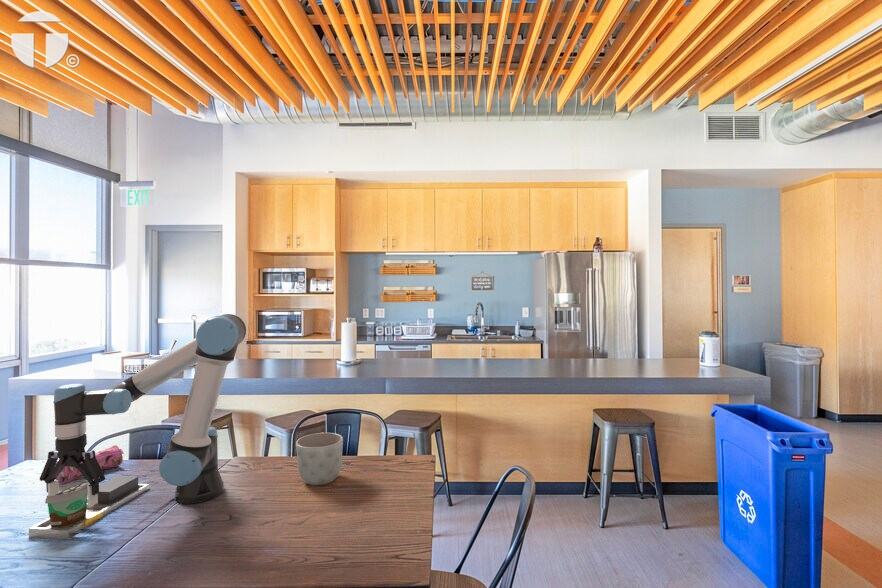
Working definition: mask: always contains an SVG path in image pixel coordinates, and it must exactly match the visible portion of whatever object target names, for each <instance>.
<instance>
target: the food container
mask: <svg viewBox="0 0 882 588" xmlns="http://www.w3.org/2000/svg"><path fill="white" fill-rule="evenodd" d="M88 485H90V484H89V482H88V481H87V480H86V479H82V480H81V483H79V484H76V485H74V486H72V487H71V486H70V487H67V488H65V489H63V490H62V491H60V492H59V493H58V494H56V495H54V496H48V495H46V498H45V501H44V504H47V508H48V515H49V517H48V518H50V523H51V527H62V526H67V525H70V524H74V523H76V522H78V521H80V520H82V519H83V518H84V517H85V516H86V508H87V498H88V491H87V486H88Z"/></svg>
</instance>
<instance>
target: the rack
mask: <svg viewBox="0 0 882 588" xmlns="http://www.w3.org/2000/svg"><path fill="white" fill-rule="evenodd" d="M149 489H150V484H148V483H138V489H137V490H136V491H134V492H132V493H130V494H129V495H127V496H125V497H123V498H122V499H120V500H118V501H116V502H115V503H113V504H95V505H93V506H91V507H88V497H87V508H86V516H85V517H84V518H83V519H82V520H80V521H78V522H76V523H74V524H70V525H67V526H62V527H51V523H50V517H47V518H45V519H44V520H42V521H40V522H38V523H36V524H35V525H33V526H31V527H29V528H28V536H29V538H38V539H39V538H41V539H42V538H43V539H54V540H55V539H57V540H71V539H72V538H73V537H75V536H77V535H79V534H80V532H78V531H80V530H81V529H84V528H86V527H88V526H90V525H91V524H93V523H95V522H96V521H97V522H98V520H100V519H103V516H106V515H107V514H109V513H111V512H112V511H114V510H116V509H117V508H119V507H120V506H122V505H124V504H125V503H128V502H129V501H131V500H132V499H134V498H136V497H137V496H140V495H141V494H142V493H144V492H146V491H147V490H149Z"/></svg>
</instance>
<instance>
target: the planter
mask: <svg viewBox="0 0 882 588" xmlns="http://www.w3.org/2000/svg"><path fill="white" fill-rule="evenodd" d="M343 442H344V437H343V436H342V435H341V434H339V433H335V432H316V433H311V434H307V435H304V436H302V437H299V438H298V439H297V440H296V441H295V447H296V449H295V450H296V457H297V459H296V460H297V470H298V473H299V474H298V475H299V476H300V479H301V480H302V481H303V482H304V483H305V484H307V485H309V486H310V485H311V486H323V485H327V484H330V483H331V482H333V481H334V480H335V479H337V478H338V476H339V475H340V472H341V470H342V469H341V468H342V465H343V464H342V463H343V462H342V461H343V445H344V443H343Z"/></svg>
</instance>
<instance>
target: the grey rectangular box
mask: <svg viewBox="0 0 882 588" xmlns="http://www.w3.org/2000/svg"><path fill="white" fill-rule="evenodd" d="M138 484H139V476H131V475H117V476H115V477H112V478H110V479H108V480H106V481H103V482H101V483H99V493H98V503H97V504H113V503H115V502H116V501H118V500H120V499H122V498H123V497H125V496H127V495H129V494H130V493H132V492H134V491H136V490H137V489H138Z"/></svg>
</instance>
